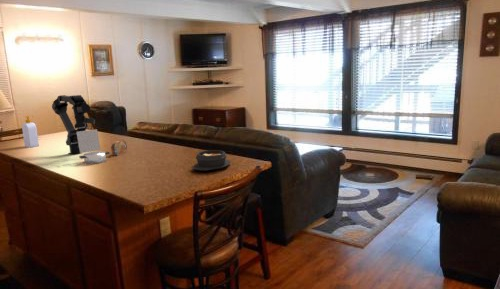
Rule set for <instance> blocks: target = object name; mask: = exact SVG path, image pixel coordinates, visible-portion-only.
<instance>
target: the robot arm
mask: <svg viewBox="0 0 500 289" xmlns="http://www.w3.org/2000/svg"><path fill="white" fill-rule="evenodd" d="M69 105H71V106H72V107H71V110H73V115H74V120H75V124H73V123H72V120H71V118H70V117H69V114H68V112H67V111H68V106H69ZM51 109H52V110H53V112H54V113H55V114H56V115H58V116H59V118H60V120H61V121H62V124H63V126H64V128H65V129H66V132H67V136H66V140H65V144H66V146H69V152H68V155H79V154H81V153H80V150H79V144H78V138H77V133H76V132H79V131H87V130H88V128H89V124H91V125H95V124H96V123H95V122H96V119H94V118H93V117H89V118H88V117H86V115H85V114H87V113H89V112H90V111H91V106H90V104H88V103H87V101H86V100H85V99H84V97H83V96H82V95H81V94H79V95H77V94H76V95H66V94H65V95H64V94H63V95H58V96H57V97H56V98H55V100H54V101H52V105H51Z"/></svg>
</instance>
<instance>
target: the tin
mask: <svg viewBox="0 0 500 289" xmlns="http://www.w3.org/2000/svg"><path fill="white" fill-rule="evenodd" d="M110 147H111V148H110V149H111V153H112V155H113V156H120V155H122V154H125V153H126V152H127V149H128V146H127V142H126V141H125V140H123V139H122V140H117V141H114V142H113V143H112V144H111V146H110Z"/></svg>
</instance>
